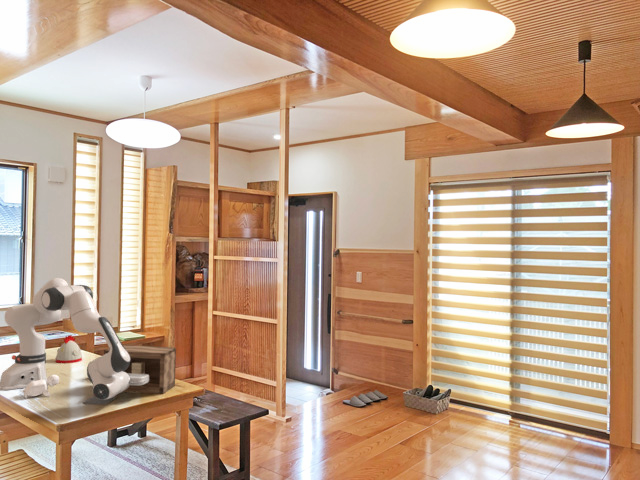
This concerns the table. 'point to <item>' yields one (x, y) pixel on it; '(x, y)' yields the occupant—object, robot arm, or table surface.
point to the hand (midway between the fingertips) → (133, 374)
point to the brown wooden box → (153, 367)
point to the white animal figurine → (40, 386)
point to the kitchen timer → (69, 351)
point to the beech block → (138, 367)
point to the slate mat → (98, 401)
